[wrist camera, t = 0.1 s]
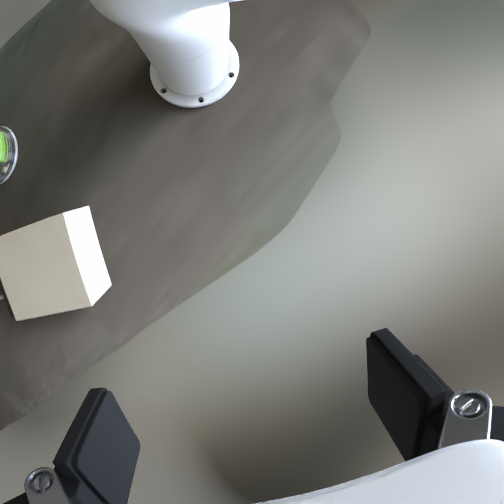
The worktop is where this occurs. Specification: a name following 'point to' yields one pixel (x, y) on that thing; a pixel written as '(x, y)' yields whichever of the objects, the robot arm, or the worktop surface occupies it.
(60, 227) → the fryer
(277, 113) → the worktop surface
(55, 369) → the worktop surface
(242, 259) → the worktop surface
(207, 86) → the robot arm
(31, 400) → the worktop surface
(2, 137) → the coffee can
